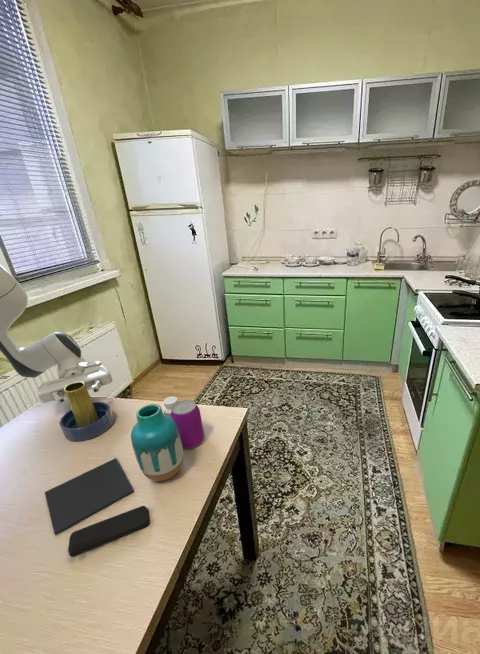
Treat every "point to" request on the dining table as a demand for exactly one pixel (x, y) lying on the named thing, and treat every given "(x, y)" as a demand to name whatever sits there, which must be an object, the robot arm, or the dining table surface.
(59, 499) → the mat
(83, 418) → the vase
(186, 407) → the beverage can
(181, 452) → the vase
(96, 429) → the bowl
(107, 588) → the dining table surface
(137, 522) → the remote control
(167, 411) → the pill bottle
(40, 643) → the dining table surface
